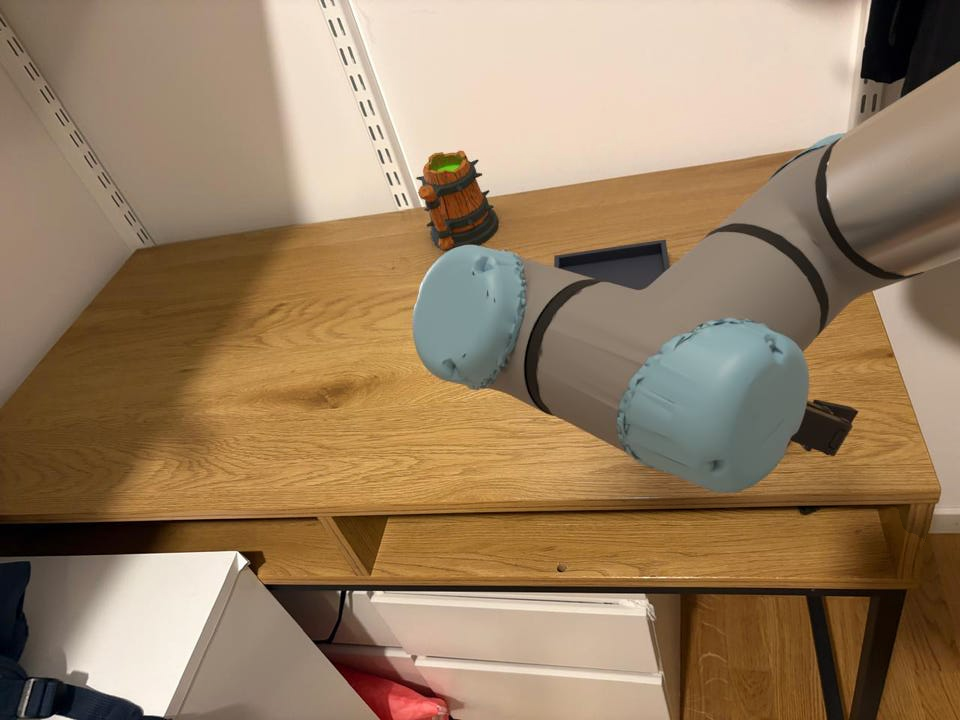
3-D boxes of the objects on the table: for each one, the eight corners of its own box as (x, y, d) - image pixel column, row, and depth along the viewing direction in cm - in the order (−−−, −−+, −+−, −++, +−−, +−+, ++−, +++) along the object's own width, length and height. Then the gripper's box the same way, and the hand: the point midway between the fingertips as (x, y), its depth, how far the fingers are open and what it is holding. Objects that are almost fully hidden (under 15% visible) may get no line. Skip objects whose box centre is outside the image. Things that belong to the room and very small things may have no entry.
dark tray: (677, 327, 79) (676, 312, 78) (555, 341, 82) (551, 327, 81) (666, 253, 88) (665, 239, 87) (557, 269, 92) (554, 255, 90)
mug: (443, 210, 108) (420, 139, 101) (509, 208, 104) (490, 133, 97) (412, 266, 100) (384, 192, 92) (482, 265, 96) (459, 188, 88)
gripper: (492, 319, 58) (648, 354, 73) (747, 509, 41) (886, 506, 55) (531, 231, 56) (684, 284, 71) (817, 392, 39) (943, 420, 53)
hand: (773, 382), depth 63 cm, fingers open, 13 cm apart
